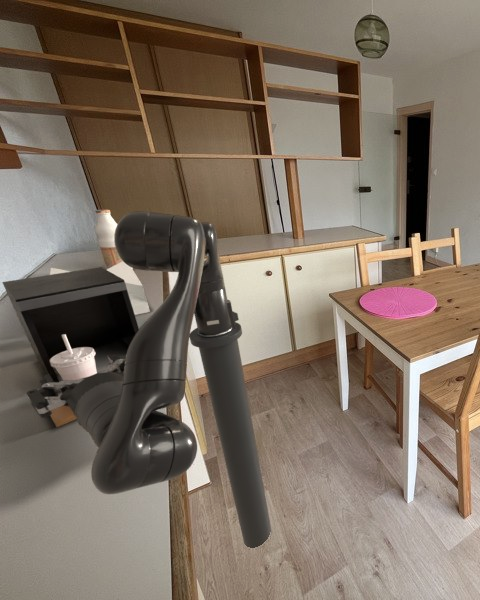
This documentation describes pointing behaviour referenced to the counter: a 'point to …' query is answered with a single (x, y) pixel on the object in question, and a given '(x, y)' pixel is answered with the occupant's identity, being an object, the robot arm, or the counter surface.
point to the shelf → (72, 311)
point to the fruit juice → (107, 237)
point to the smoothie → (74, 362)
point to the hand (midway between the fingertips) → (81, 368)
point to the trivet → (62, 415)
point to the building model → (131, 283)
